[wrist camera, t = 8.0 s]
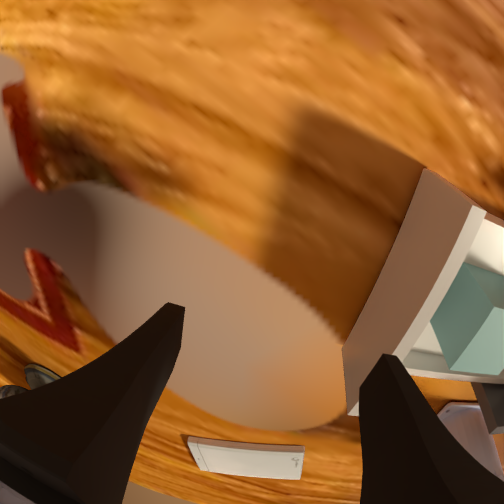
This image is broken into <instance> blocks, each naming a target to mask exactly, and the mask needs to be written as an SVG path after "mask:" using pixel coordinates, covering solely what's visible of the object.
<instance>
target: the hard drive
mask: <svg viewBox="0 0 504 504" xmlns="http://www.w3.org/2000/svg"><path fill="white" fill-rule="evenodd" d="M187 443H188V446H189V448H190V450H191V452H192V454H193V456H194V458H195V460H196V462H197V464H198V466H199V468H200V470H204V471H210V472H217V473H224V474H231V475H240V476H249V477H261V478H276V479H300V478H301V472H302V466H303V459H304V452H305V446H287V445H266V444H252V443H240V442H230V441H221V440H213V439H205V438H198V437H191V436H189V437H188V441H187Z"/></svg>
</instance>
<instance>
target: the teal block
mask: <svg viewBox="0 0 504 504" xmlns="http://www.w3.org/2000/svg"><path fill="white" fill-rule="evenodd" d="M430 323H431V325H432V328H433V330H434V333H435V335H436V337H437V340H438V342H439V345H440V347H441V350H442V352H443V355H444V357H445V360H446V363H447V365H448V368H449V370H453V371H462V372H470V373H480V374H490V375H499V374H500V372H501V371H502V370H503V369H504V276H502V275H499V274H496V273H494V272H491V271H488V270H485V269H482V268H480V267H477V266H474V265H471V264H468V263H465V262H463V263H462V265H461V267H460V269H459V271H458V273H457V275H456V277H455V278H454V280H453V282H452V284H451V286H450V287H449V289H448V291H447V293H446V295H445V296H444V298H443V300H442V301H441V303H440V305H439V306H438V308H437V310H436V311H435V313H434V315H433V316H432V318H431V320H430Z"/></svg>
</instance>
